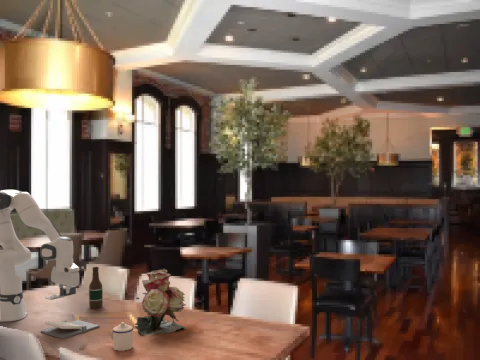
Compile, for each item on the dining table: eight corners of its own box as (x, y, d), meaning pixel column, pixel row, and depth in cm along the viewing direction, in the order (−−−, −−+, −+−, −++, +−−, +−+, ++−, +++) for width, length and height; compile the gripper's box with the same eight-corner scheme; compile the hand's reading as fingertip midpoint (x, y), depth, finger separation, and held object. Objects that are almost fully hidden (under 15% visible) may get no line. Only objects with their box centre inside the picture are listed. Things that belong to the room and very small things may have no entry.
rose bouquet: (142, 339, 239) (142, 276, 239) (131, 323, 266) (130, 267, 266) (193, 332, 249) (193, 272, 249) (177, 317, 276) (176, 263, 276)
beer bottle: (89, 308, 295) (88, 268, 295) (89, 305, 302) (88, 266, 302) (102, 307, 297) (102, 267, 297) (102, 304, 305) (102, 265, 304)
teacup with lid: (137, 346, 228) (137, 321, 228) (123, 352, 220) (123, 326, 220) (118, 342, 234) (117, 317, 234) (103, 348, 226) (103, 322, 226)
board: (41, 332, 251) (40, 326, 251) (77, 321, 269) (77, 316, 269) (63, 338, 240) (62, 333, 240) (99, 327, 258) (99, 321, 258)
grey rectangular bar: (71, 292, 275) (71, 285, 275) (77, 294, 272) (77, 286, 272) (45, 298, 262) (45, 291, 262) (51, 300, 259) (51, 292, 259)
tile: (45, 321, 251) (45, 324, 250) (62, 326, 243) (62, 329, 242) (65, 321, 260) (64, 324, 260) (82, 326, 252) (82, 328, 252)
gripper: (48, 265, 272) (48, 290, 272) (71, 270, 260) (71, 296, 260) (58, 264, 277) (58, 288, 277) (81, 268, 265) (81, 294, 265)
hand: (64, 292), depth 268 cm, fingers closed on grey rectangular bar, 3 cm apart
